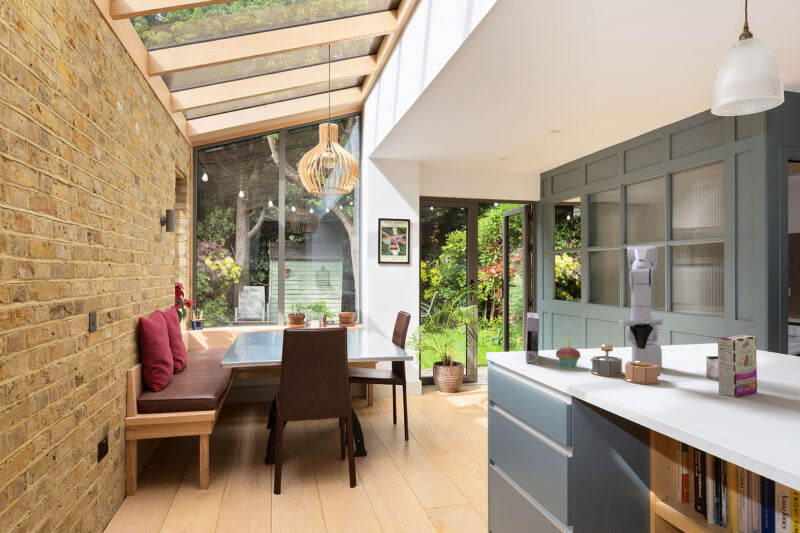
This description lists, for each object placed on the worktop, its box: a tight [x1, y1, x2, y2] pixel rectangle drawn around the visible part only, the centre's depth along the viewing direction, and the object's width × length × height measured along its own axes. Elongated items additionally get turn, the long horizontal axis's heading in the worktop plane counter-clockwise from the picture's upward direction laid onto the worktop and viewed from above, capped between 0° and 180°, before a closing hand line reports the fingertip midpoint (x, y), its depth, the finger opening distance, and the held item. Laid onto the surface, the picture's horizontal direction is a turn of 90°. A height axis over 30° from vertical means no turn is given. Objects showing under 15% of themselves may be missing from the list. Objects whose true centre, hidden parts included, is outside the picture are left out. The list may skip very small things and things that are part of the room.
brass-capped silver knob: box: [599, 343, 615, 360], centre depth 171 cm, size 5×5×5 cm
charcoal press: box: [590, 355, 625, 378], centre depth 171 cm, size 11×12×5 cm
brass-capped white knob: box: [635, 360, 648, 367], centre depth 160 cm, size 5×5×5 cm
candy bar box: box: [717, 334, 758, 398], centre depth 144 cm, size 11×5×16 cm, turn 117°
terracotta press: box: [623, 360, 661, 386], centre depth 160 cm, size 11×12×5 cm
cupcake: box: [555, 334, 581, 369], centre depth 182 cm, size 9×8×12 cm
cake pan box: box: [525, 312, 540, 364], centre depth 196 cm, size 19×5×18 cm, turn 166°
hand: (641, 348), depth 160 cm, fingers closed
